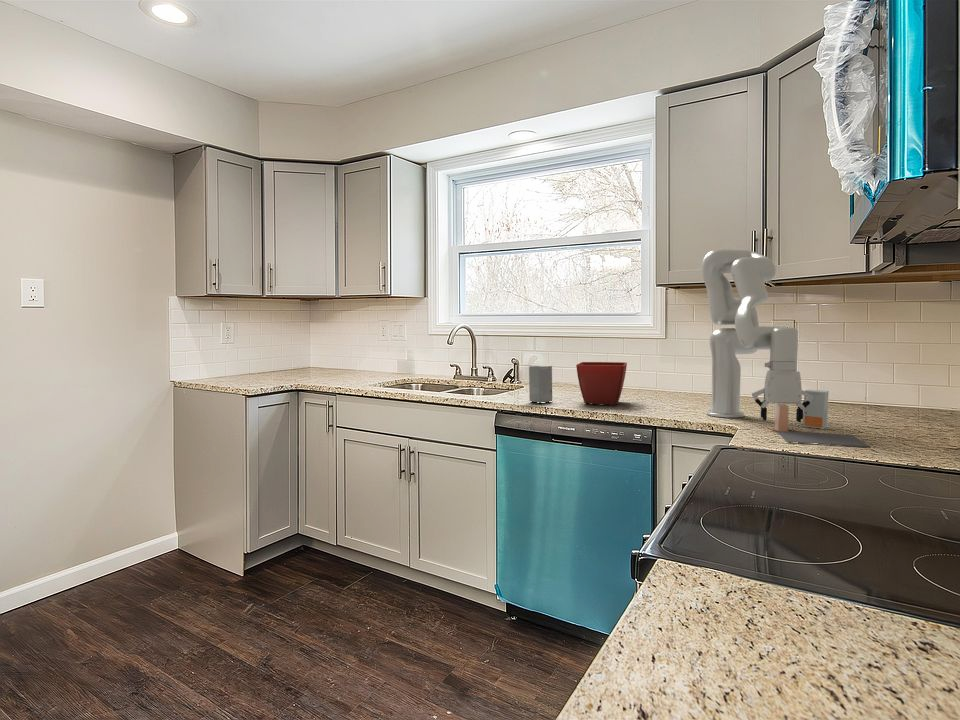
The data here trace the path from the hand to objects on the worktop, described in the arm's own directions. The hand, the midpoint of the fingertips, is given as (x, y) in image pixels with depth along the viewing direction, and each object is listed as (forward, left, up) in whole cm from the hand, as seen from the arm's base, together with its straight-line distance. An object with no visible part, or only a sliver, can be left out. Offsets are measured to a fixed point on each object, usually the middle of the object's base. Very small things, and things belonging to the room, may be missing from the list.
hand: (781, 420), depth 177 cm
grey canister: (-37, -85, -3) cm, 93 cm away
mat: (+13, +8, -3) cm, 16 cm away
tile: (0, 0, -3) cm, 3 cm away
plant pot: (-42, -60, -3) cm, 73 cm away
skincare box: (-7, +11, -3) cm, 13 cm away
